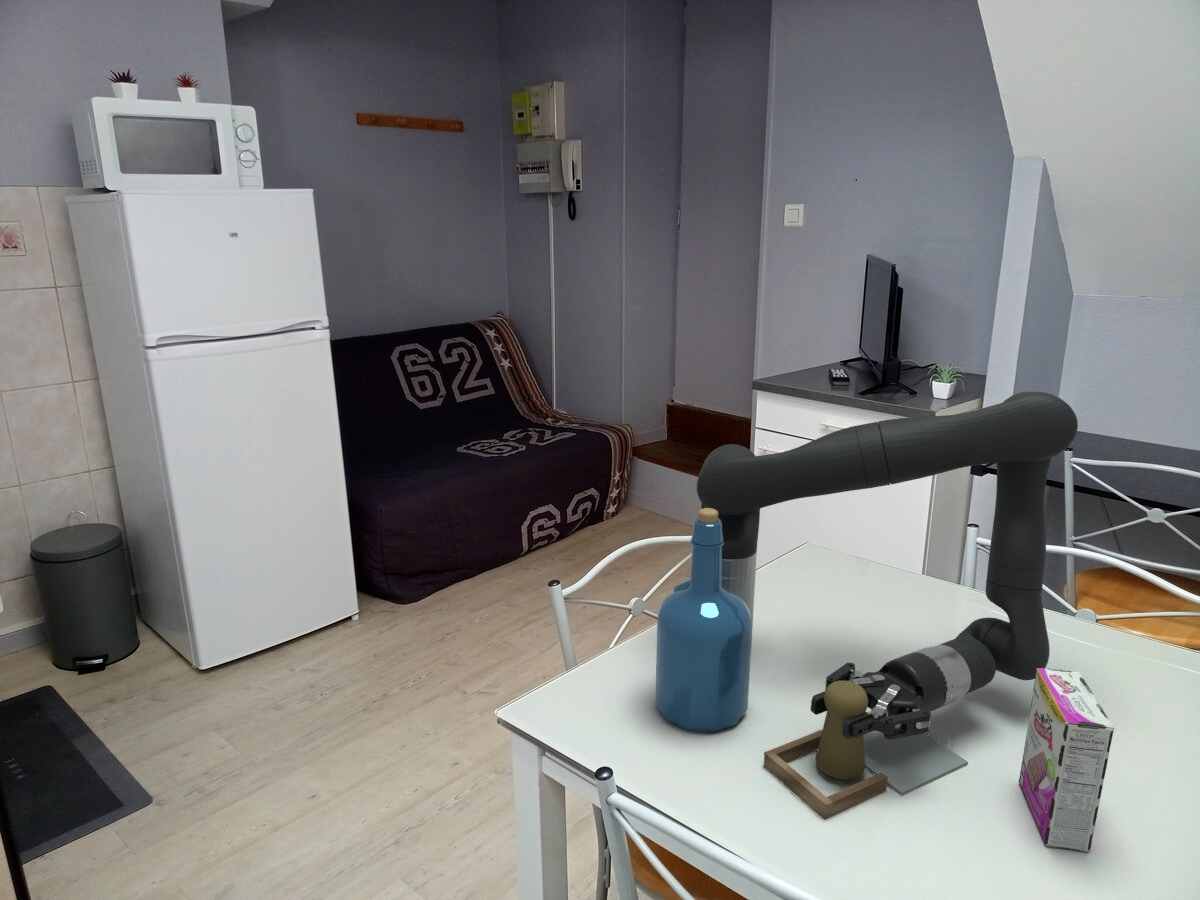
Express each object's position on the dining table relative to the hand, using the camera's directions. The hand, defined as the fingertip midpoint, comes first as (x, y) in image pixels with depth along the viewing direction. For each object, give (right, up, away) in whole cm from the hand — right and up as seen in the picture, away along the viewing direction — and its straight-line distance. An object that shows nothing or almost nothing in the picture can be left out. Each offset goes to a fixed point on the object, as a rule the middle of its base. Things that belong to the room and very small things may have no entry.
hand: (829, 718), depth 101 cm
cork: (+2, -7, +3) cm, 8 cm away
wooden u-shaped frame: (0, -8, +3) cm, 9 cm away
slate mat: (+10, -7, +8) cm, 15 cm away
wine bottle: (-14, -4, +17) cm, 22 cm away
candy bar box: (+25, -10, -4) cm, 27 cm away
